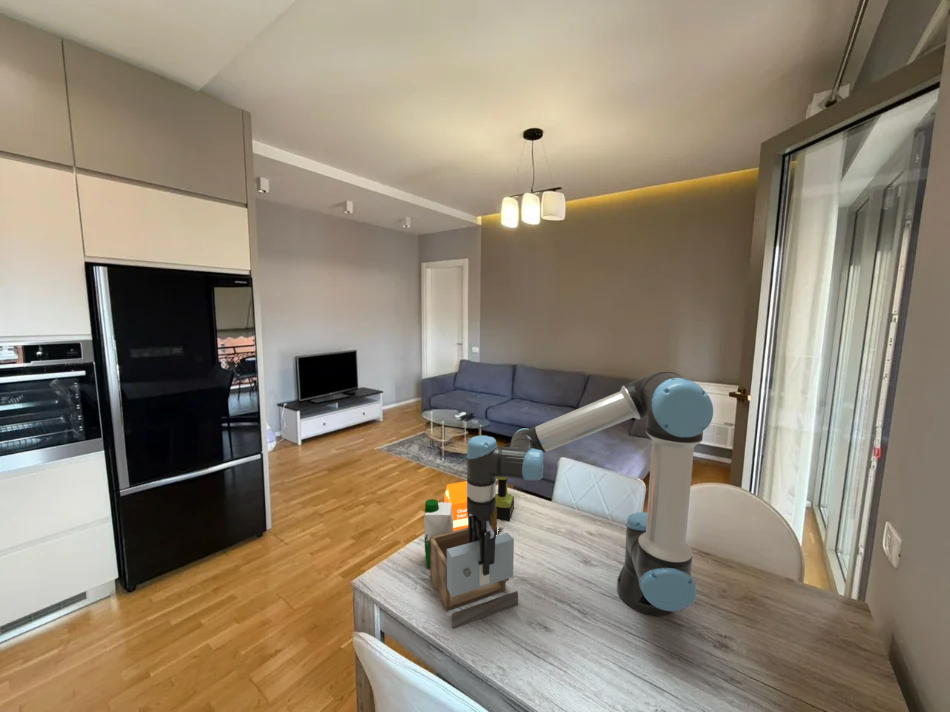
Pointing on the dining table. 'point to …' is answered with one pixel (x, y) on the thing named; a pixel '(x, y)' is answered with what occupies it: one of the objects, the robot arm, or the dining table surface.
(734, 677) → the dining table surface
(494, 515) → the condiment
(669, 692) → the dining table surface
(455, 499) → the orange juice
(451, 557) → the door
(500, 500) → the cordless drill
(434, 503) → the milk carton
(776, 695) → the dining table surface
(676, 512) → the robot arm
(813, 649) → the dining table surface
